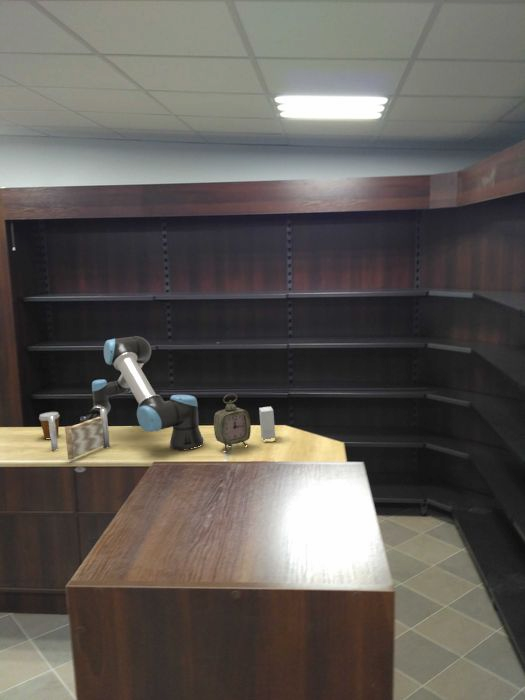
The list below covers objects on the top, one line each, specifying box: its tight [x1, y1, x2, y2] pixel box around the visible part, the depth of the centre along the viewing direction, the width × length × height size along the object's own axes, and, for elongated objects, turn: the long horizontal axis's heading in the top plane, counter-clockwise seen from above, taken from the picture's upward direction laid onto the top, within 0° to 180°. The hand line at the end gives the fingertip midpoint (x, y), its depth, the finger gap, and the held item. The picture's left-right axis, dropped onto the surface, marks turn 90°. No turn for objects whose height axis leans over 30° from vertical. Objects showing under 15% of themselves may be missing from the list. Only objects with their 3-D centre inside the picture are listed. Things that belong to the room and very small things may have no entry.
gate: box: [64, 417, 104, 460], centre depth 240 cm, size 20×2×14 cm, turn 150°
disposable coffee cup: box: [38, 411, 60, 439], centre depth 269 cm, size 10×10×12 cm
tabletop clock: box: [213, 393, 252, 452], centre depth 240 cm, size 14×9×25 cm, turn 123°
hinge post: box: [100, 408, 111, 449], centre depth 250 cm, size 3×3×18 cm
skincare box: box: [258, 406, 276, 441], centre depth 250 cm, size 8×6×15 cm
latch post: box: [48, 416, 59, 451], centre depth 249 cm, size 3×3×16 cm
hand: (84, 427), depth 256 cm, fingers closed
